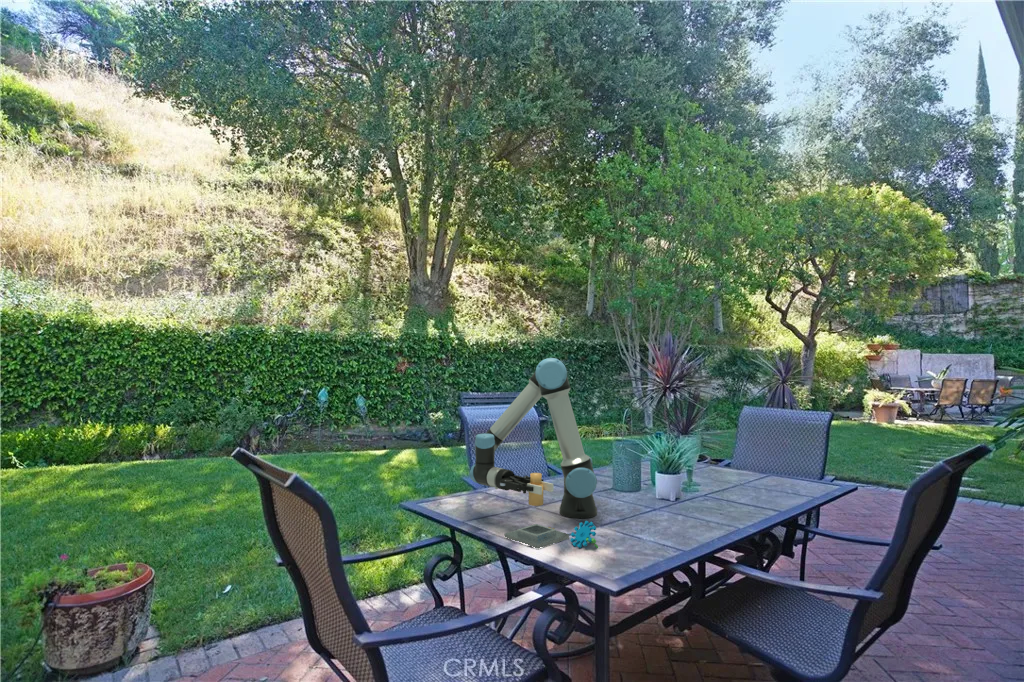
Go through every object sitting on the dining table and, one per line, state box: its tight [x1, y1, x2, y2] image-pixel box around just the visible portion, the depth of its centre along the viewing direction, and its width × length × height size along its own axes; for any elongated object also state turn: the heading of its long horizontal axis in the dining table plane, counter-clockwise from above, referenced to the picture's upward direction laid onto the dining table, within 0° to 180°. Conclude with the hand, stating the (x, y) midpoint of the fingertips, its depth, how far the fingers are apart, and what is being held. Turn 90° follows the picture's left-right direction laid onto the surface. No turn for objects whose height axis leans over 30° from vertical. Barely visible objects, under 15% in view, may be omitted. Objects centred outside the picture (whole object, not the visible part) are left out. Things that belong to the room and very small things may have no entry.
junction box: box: [503, 523, 570, 549], centre depth 189 cm, size 16×16×3 cm
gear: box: [569, 520, 599, 549], centre depth 182 cm, size 11×6×10 cm
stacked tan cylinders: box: [528, 472, 544, 507], centre depth 189 cm, size 5×5×10 cm
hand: (546, 489), depth 186 cm, fingers closed on stacked tan cylinders, 5 cm apart
